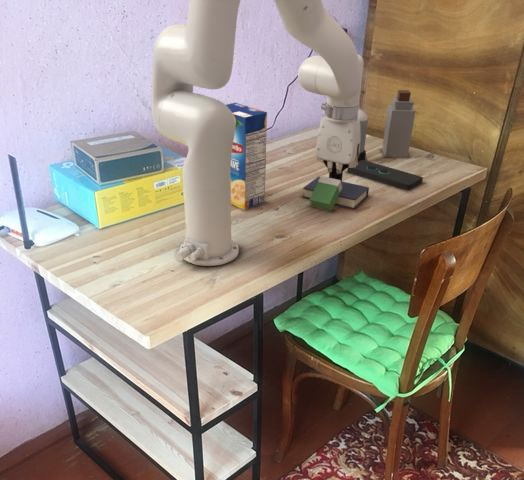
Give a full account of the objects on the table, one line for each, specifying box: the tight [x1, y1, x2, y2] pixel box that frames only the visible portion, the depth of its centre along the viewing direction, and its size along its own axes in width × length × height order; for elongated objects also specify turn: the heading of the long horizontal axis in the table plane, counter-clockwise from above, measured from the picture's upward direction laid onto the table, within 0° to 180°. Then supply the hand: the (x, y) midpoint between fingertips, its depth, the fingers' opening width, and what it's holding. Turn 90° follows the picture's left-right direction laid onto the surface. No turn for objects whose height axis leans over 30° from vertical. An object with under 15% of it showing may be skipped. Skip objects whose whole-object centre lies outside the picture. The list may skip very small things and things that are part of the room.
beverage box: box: [225, 102, 268, 211], centre depth 142 cm, size 7×11×22 cm, turn 44°
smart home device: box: [346, 159, 424, 191], centre depth 163 cm, size 8×2×20 cm
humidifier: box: [357, 72, 369, 161], centre depth 167 cm, size 8×8×25 cm
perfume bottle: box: [381, 89, 416, 159], centre depth 175 cm, size 7×7×18 cm
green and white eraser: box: [309, 175, 342, 212], centre depth 145 cm, size 7×5×3 cm
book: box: [302, 175, 370, 210], centre depth 151 cm, size 9×14×3 cm, turn 61°
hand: (334, 186), depth 149 cm, fingers closed
